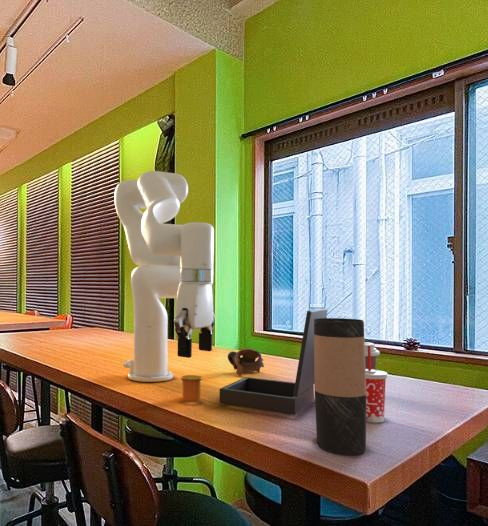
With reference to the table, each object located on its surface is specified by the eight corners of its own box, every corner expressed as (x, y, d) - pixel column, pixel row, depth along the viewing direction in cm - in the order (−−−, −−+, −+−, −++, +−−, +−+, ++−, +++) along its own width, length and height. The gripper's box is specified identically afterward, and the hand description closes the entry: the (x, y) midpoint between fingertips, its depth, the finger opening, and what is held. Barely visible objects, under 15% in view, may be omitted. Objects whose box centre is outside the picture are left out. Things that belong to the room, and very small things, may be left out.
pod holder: (219, 407, 92) (219, 388, 92) (245, 393, 105) (245, 376, 105) (295, 419, 84) (295, 399, 84) (314, 402, 96) (313, 384, 96)
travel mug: (377, 449, 68) (374, 320, 70) (349, 460, 64) (346, 322, 65) (333, 435, 75) (331, 317, 76) (305, 444, 70) (303, 319, 71)
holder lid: (306, 310, 84) (311, 311, 83) (324, 308, 96) (328, 308, 96) (292, 395, 84) (297, 397, 84) (311, 382, 97) (315, 383, 96)
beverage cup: (346, 417, 86) (345, 344, 86) (366, 412, 88) (365, 342, 89) (375, 425, 80) (373, 348, 81) (395, 420, 83) (393, 346, 84)
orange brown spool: (177, 403, 95) (177, 377, 96) (187, 399, 99) (187, 374, 99) (195, 406, 93) (195, 380, 93) (205, 401, 97) (205, 376, 97)
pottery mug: (269, 374, 130) (270, 352, 126) (253, 393, 124) (253, 371, 120) (235, 360, 137) (234, 338, 133) (218, 377, 131) (216, 355, 127)
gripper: (199, 277, 108) (198, 346, 108) (161, 277, 94) (160, 357, 93) (227, 277, 104) (226, 350, 104) (192, 277, 90) (191, 361, 89)
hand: (195, 353), depth 99 cm, fingers open, 9 cm apart
